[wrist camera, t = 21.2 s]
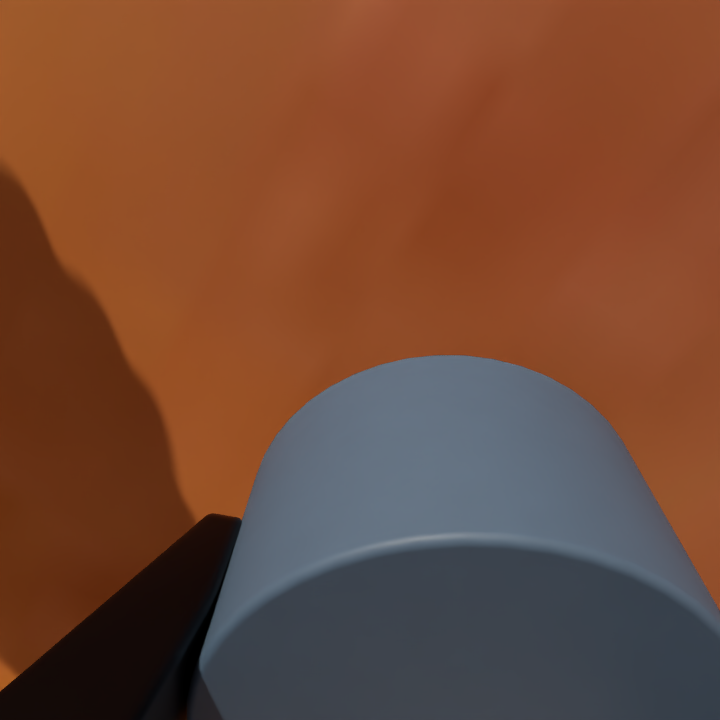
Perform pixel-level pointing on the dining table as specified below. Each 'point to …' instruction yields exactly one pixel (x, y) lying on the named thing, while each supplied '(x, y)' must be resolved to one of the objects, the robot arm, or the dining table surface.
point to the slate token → (455, 564)
